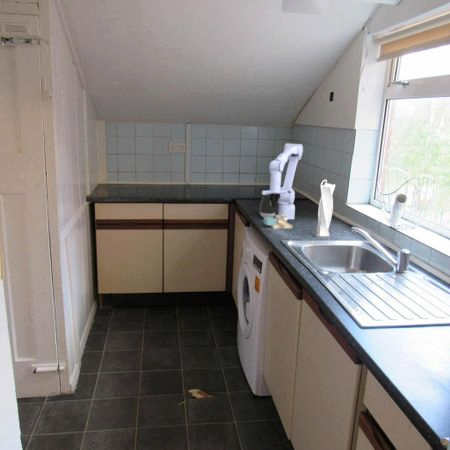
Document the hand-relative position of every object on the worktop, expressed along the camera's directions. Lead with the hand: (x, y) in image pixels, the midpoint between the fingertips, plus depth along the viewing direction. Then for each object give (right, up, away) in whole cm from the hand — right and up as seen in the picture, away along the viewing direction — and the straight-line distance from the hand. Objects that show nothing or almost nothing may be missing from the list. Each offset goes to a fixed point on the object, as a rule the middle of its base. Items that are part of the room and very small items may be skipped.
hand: (273, 207), depth 240 cm
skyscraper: (+23, -15, -19) cm, 33 cm away
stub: (-3, -9, -6) cm, 11 cm away
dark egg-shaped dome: (-2, -6, +16) cm, 17 cm away
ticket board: (+2, -10, -2) cm, 11 cm away
